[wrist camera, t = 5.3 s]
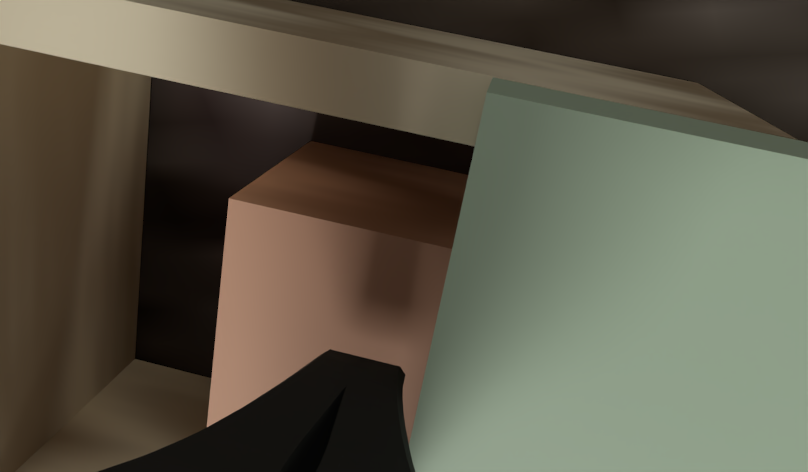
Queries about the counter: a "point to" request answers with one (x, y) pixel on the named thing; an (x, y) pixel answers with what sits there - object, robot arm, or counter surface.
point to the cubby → (126, 171)
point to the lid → (620, 296)
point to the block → (332, 270)
